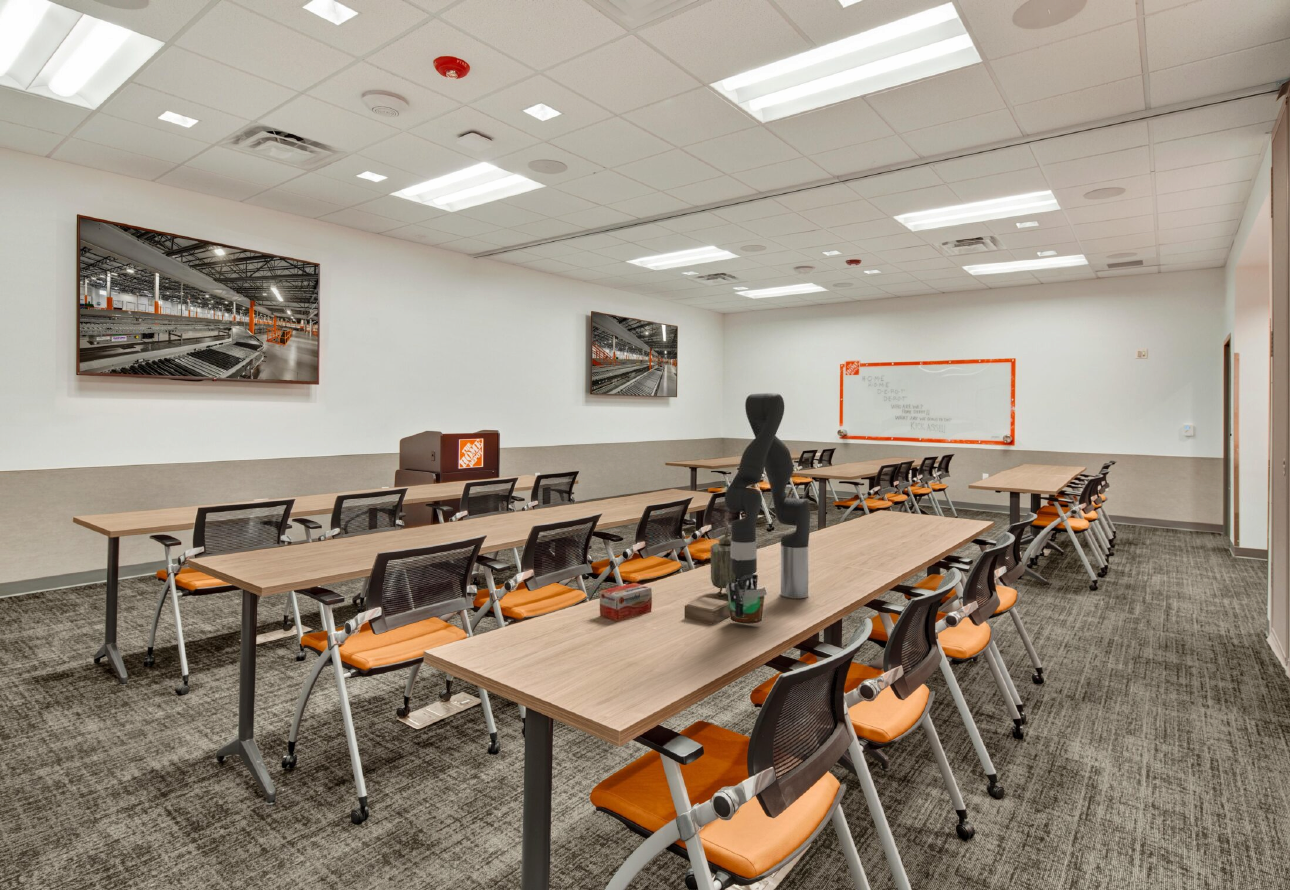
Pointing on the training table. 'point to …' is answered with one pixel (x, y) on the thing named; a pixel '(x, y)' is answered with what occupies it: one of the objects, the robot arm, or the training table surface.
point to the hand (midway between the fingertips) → (743, 613)
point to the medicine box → (625, 601)
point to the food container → (748, 605)
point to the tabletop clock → (721, 563)
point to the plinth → (707, 610)
